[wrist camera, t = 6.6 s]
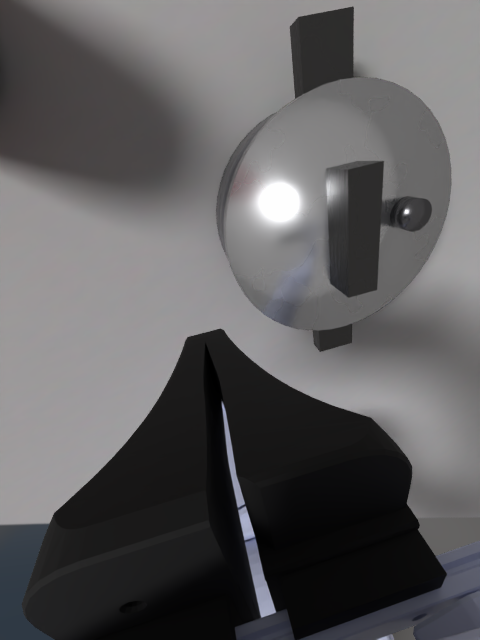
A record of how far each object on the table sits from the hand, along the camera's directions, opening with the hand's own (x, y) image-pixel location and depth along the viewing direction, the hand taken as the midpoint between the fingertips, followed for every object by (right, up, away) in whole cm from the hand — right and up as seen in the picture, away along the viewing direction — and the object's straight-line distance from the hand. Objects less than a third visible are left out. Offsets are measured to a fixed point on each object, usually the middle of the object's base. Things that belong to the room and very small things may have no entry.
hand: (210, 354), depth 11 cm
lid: (+6, +7, +5) cm, 10 cm away
